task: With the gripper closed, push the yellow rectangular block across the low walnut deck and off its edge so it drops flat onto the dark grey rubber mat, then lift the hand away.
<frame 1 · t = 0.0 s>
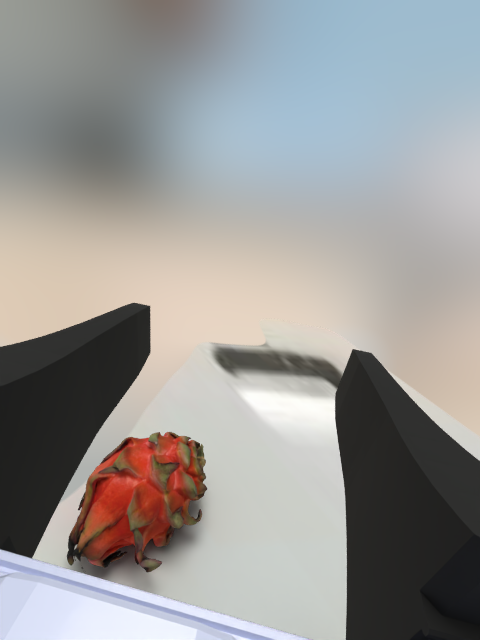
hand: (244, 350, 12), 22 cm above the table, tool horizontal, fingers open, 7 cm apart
dragon fruit: (142, 524, 27), on the table
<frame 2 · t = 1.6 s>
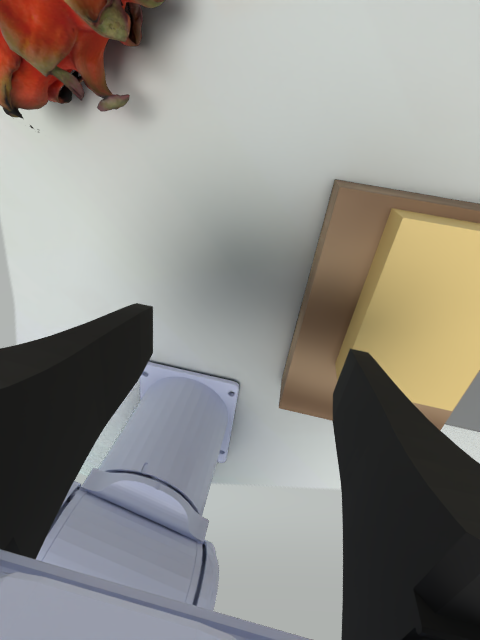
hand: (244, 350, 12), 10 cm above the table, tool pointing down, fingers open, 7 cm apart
yellow rectangular block: (418, 307, 17), point 3 cm above the table, touching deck
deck: (382, 312, 20), on the table
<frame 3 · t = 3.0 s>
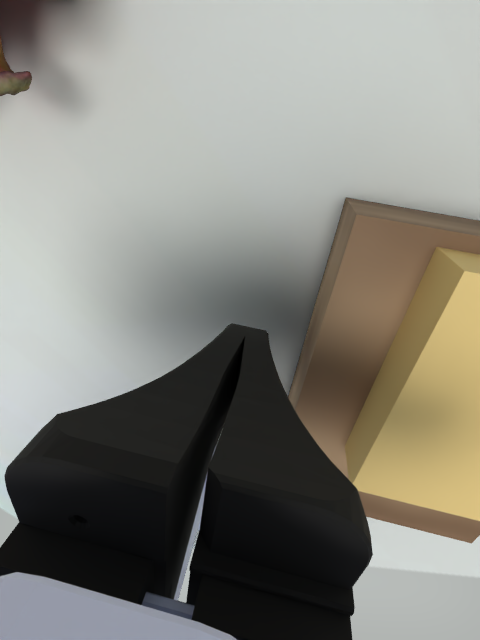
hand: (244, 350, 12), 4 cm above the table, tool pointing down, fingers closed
yellow rectangular block: (466, 383, 12), point 3 cm above the table, touching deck
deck: (407, 371, 15), on the table
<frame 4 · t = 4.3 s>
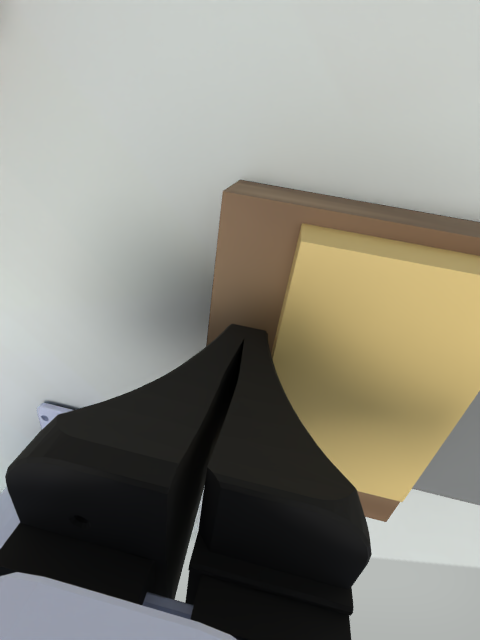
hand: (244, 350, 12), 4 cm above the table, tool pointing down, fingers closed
yellow rectangular block: (353, 360, 12), point 3 cm above the table, touching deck, gripper
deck: (321, 353, 16), on the table
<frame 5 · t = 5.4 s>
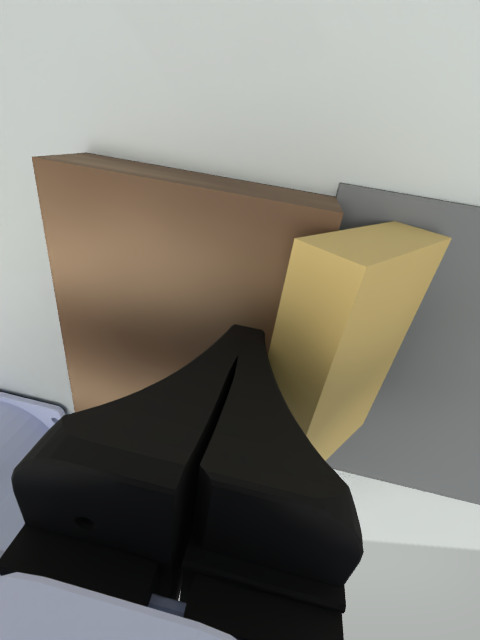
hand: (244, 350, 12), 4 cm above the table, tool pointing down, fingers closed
yellow rectangular block: (316, 345, 12), point 3 cm above the table, tilted 53°, touching gripper, mat
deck: (194, 326, 16), on the table
mat: (431, 377, 15), on the table
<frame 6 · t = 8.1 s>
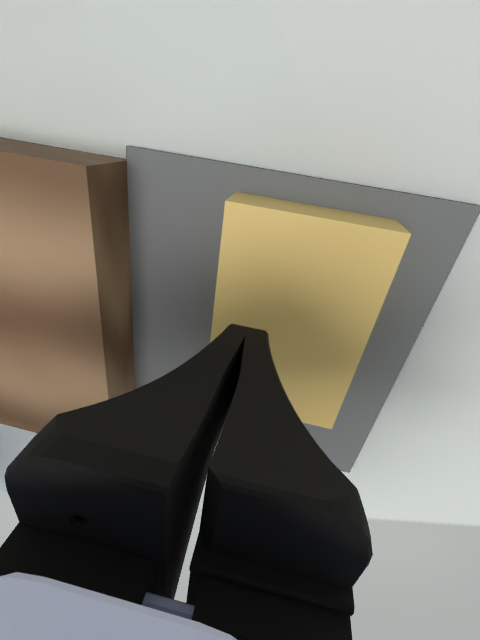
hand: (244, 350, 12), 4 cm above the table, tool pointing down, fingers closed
yellow rectangular block: (286, 333, 13), point 2 cm above the table, tilted 180°, touching mat
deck: (43, 293, 17), on the table
mat: (261, 340, 16), on the table
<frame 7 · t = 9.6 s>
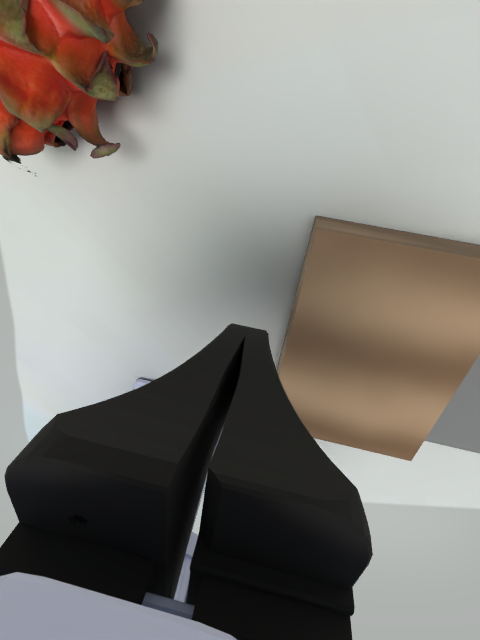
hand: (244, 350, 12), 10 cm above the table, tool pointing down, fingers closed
dragon fruit: (90, 49, 17), on the table
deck: (364, 336, 21), on the table
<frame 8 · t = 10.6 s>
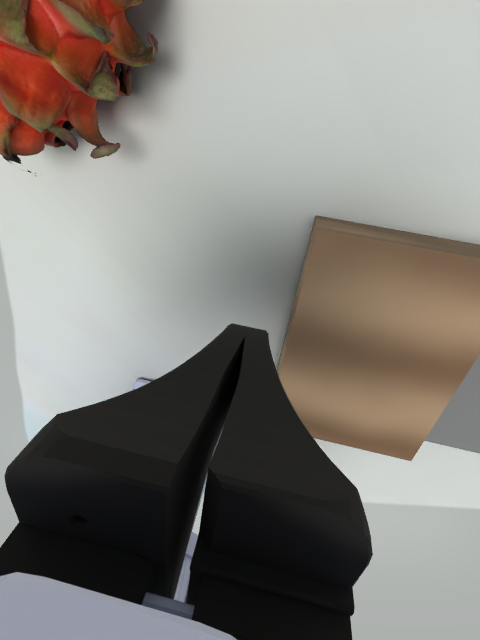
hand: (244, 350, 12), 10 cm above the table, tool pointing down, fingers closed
dragon fruit: (90, 49, 17), on the table
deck: (364, 336, 21), on the table
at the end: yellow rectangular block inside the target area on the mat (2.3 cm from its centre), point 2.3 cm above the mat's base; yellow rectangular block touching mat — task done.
